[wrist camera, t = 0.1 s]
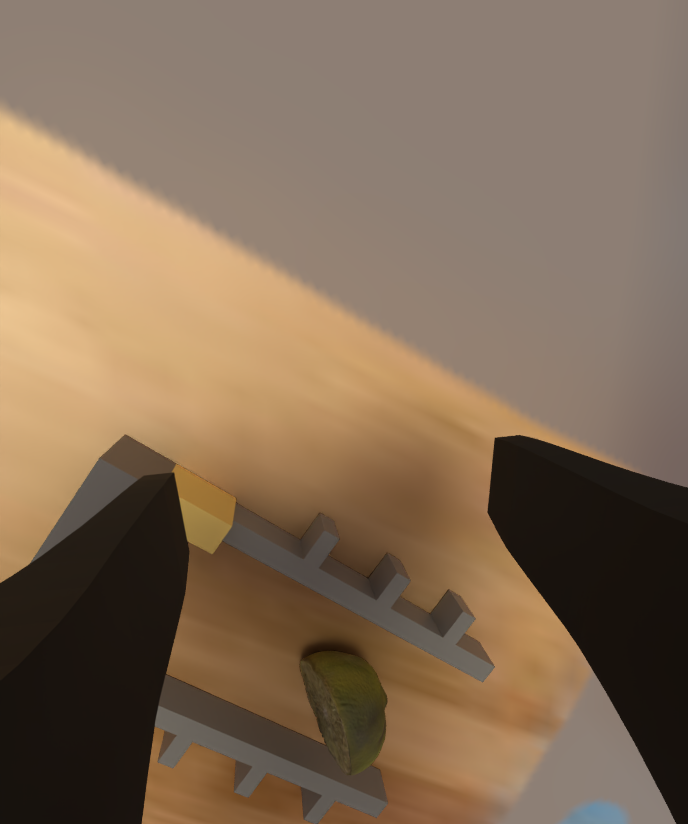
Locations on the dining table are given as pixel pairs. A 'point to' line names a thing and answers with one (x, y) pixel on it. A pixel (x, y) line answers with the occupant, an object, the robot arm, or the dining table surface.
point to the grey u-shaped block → (310, 566)
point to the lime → (346, 707)
